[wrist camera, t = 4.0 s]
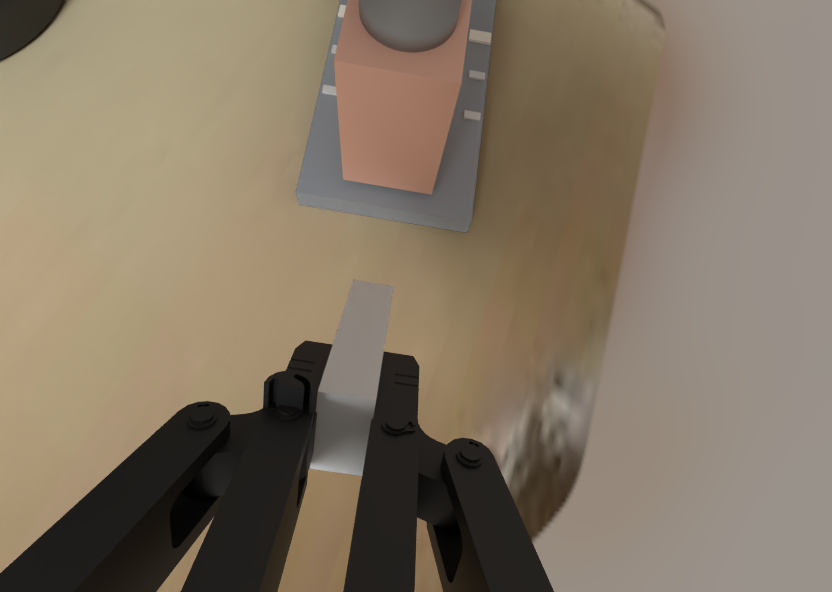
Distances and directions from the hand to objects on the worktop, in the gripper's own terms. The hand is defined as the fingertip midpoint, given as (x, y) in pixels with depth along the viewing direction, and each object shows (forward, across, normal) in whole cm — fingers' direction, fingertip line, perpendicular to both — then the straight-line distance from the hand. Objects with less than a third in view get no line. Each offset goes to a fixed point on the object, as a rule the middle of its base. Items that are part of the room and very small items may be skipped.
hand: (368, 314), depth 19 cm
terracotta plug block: (+14, 0, +4) cm, 14 cm away
